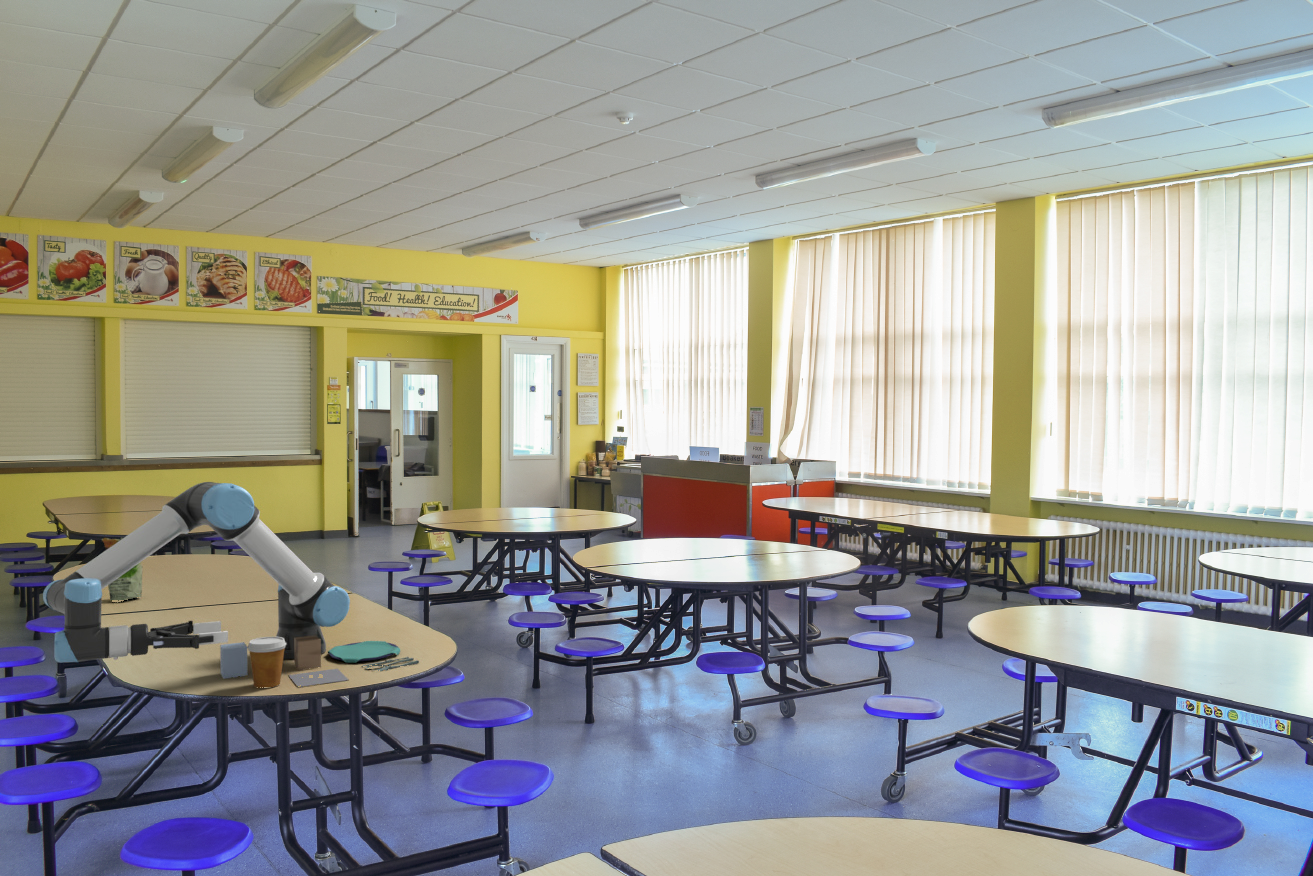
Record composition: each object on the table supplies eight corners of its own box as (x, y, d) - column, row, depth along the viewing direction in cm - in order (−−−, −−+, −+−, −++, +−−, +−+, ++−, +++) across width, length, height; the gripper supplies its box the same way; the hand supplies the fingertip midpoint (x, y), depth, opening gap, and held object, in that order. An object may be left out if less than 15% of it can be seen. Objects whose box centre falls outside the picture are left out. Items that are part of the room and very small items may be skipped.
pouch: (147, 599, 355) (146, 535, 354) (115, 605, 345) (114, 539, 344) (131, 596, 361) (131, 533, 360) (99, 601, 351) (99, 537, 350)
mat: (288, 676, 250) (288, 675, 250) (337, 669, 257) (337, 668, 257) (297, 687, 239) (297, 687, 239) (348, 680, 246) (348, 679, 246)
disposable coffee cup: (291, 680, 246) (291, 636, 246) (278, 690, 237) (278, 644, 237) (256, 680, 246) (256, 636, 246) (241, 691, 237) (241, 644, 236)
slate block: (220, 673, 253) (220, 644, 253) (244, 670, 256) (243, 642, 256) (223, 678, 248) (223, 649, 248) (247, 675, 251) (247, 646, 251)
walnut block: (294, 665, 261) (294, 637, 261) (316, 662, 264) (316, 635, 264) (298, 670, 256) (298, 642, 256) (320, 667, 259) (320, 639, 259)
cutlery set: (381, 644, 287) (381, 636, 287) (426, 665, 265) (426, 657, 264) (318, 655, 274) (318, 647, 274) (360, 678, 251) (360, 670, 251)
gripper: (127, 645, 235) (218, 636, 246) (131, 667, 214) (230, 656, 225) (127, 616, 235) (218, 608, 246) (131, 635, 214) (230, 626, 225)
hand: (224, 631), depth 236 cm, fingers open, 13 cm apart
